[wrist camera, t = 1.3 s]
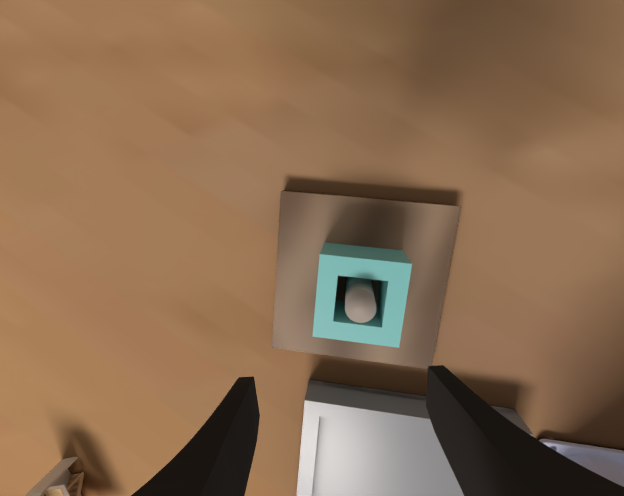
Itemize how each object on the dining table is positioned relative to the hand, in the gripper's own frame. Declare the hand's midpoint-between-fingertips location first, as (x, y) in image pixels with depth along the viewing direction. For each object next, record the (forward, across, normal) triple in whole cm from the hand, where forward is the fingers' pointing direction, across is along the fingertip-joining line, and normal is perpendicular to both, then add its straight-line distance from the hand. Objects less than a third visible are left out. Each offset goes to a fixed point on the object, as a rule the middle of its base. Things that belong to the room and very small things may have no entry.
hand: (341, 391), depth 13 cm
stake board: (+11, -2, 0) cm, 11 cm away
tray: (+9, -5, +17) cm, 20 cm away
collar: (+10, -2, 0) cm, 10 cm away
